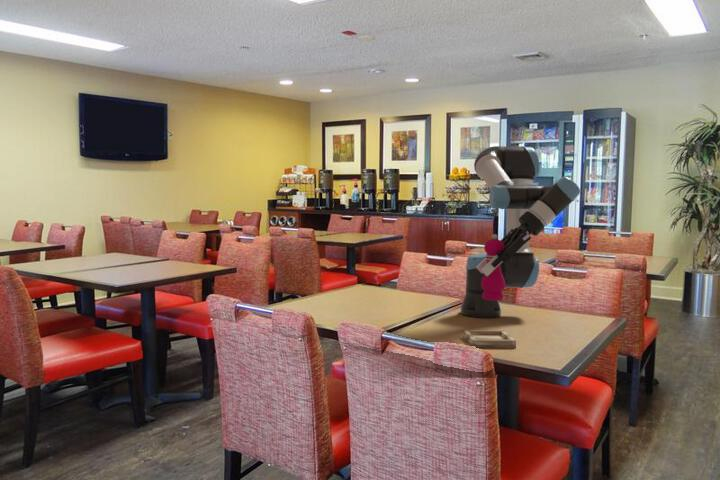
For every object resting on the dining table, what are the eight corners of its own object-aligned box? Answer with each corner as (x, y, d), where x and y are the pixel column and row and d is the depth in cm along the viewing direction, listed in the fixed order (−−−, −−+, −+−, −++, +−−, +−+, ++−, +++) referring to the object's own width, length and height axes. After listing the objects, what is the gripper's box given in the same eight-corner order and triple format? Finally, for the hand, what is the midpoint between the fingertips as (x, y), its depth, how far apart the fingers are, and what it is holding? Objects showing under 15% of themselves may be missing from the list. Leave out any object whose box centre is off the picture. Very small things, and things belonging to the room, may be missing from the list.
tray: (463, 336, 183) (463, 330, 183) (503, 337, 183) (503, 330, 183) (472, 347, 170) (473, 340, 170) (515, 347, 171) (516, 340, 170)
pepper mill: (477, 296, 179) (479, 233, 177) (499, 296, 180) (502, 233, 178) (484, 300, 172) (487, 234, 170) (508, 300, 172) (510, 234, 171)
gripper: (556, 229, 166) (498, 285, 166) (533, 225, 183) (481, 276, 184) (538, 211, 165) (480, 267, 165) (518, 209, 183) (466, 259, 183)
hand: (481, 271), depth 175 cm, fingers closed on pepper mill, 5 cm apart
